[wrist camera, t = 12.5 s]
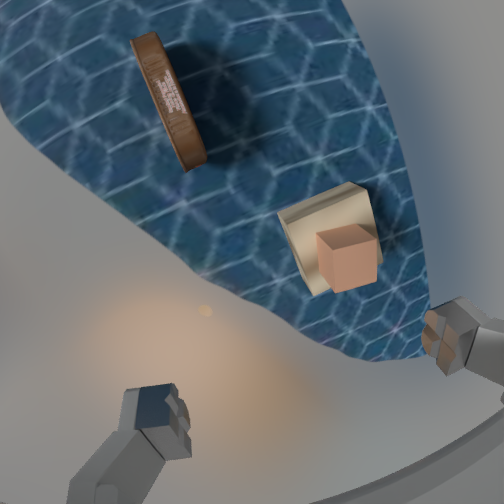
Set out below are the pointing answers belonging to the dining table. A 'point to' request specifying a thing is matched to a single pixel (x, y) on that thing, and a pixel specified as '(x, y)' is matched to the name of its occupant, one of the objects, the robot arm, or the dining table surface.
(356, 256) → the cube
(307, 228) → the base block
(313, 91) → the dining table surface
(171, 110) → the tin
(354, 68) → the dining table surface
